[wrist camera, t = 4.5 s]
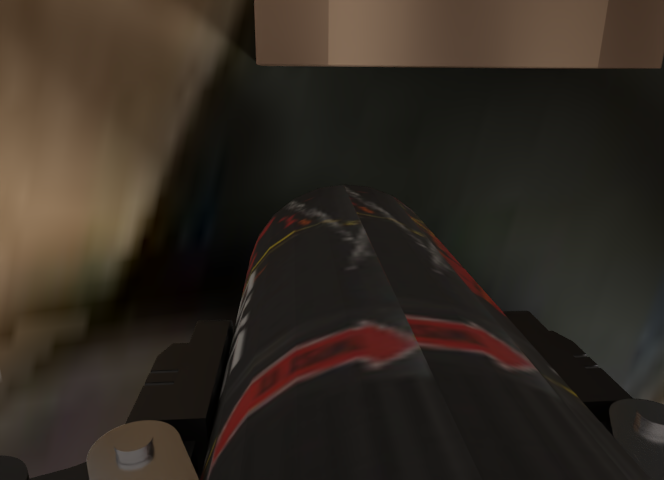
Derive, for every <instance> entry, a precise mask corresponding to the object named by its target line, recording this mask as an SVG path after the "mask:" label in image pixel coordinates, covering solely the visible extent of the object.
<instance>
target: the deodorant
mask: <svg viewBox="0 0 664 480" xmlns="http://www.w3.org/2000/svg"><path fill="white" fill-rule="evenodd" d="M201 480H651V478H650V477H649V476H648V475H647V474H646V473H645V472H644V471H643V469H642V468H641V467H640V466H639V465H638V464H637V463H636V462H635V460H634V459H633V458H632V457H631V456H630V455H629V454H628V453H627V451H626V450H625V449H624V448H623V447H622V446H621V445H620V444H619V442H618V441H617V440H616V439H615V438H614V437H613V436H612V435H611V433H610V432H609V431H608V430H607V429H606V428H605V427H604V426H603V424H602V423H601V422H600V421H599V420H598V419H597V418H596V417H595V415H594V414H593V413H592V412H591V411H590V410H589V409H588V408H587V406H586V405H585V404H584V403H583V402H582V401H581V400H580V399H579V397H578V396H577V395H576V394H575V393H574V392H573V391H572V389H571V388H570V387H569V386H568V385H567V384H566V383H565V382H564V380H563V379H562V378H561V377H560V376H559V375H558V374H557V373H556V371H555V370H554V369H553V368H552V367H551V366H550V365H549V364H548V362H547V361H546V360H545V359H544V358H543V357H542V356H541V355H540V353H539V352H538V351H537V350H536V349H535V348H534V347H533V346H532V344H531V343H530V342H529V341H528V340H527V339H526V338H525V337H524V335H523V334H522V333H521V332H520V331H519V330H518V329H517V328H516V326H515V325H514V324H513V323H512V322H511V321H510V320H509V319H508V317H507V316H506V315H505V314H504V313H503V312H502V311H501V310H500V308H499V307H498V306H497V305H496V304H495V303H494V302H493V301H492V299H491V298H490V297H489V296H488V295H487V294H486V293H485V292H484V290H483V289H482V288H481V287H480V286H479V285H478V284H477V283H476V281H475V280H474V279H473V278H472V277H471V276H470V275H469V274H468V272H467V271H466V270H465V269H464V268H463V267H462V266H461V265H460V263H459V262H458V261H457V260H456V259H455V258H454V257H453V256H452V254H451V253H450V252H449V251H448V250H447V249H446V248H445V246H444V245H443V244H442V243H441V242H440V241H439V240H438V239H437V237H436V236H435V235H434V234H433V233H432V232H431V231H430V230H429V228H428V227H427V226H426V225H425V224H424V223H423V222H422V221H421V219H420V218H419V217H418V216H417V215H416V214H415V213H414V212H413V210H411V209H410V208H409V207H407V206H406V205H404V204H403V203H402V202H400V201H399V200H398V199H396V198H395V197H393V196H392V195H389V194H386V193H384V192H381V191H378V190H376V189H373V188H371V187H365V186H355V185H345V184H343V185H336V186H330V187H324V188H318V189H315V190H313V191H311V192H309V193H306V194H304V195H302V196H300V197H297V198H295V199H293V200H292V201H291V202H290V203H288V204H287V205H286V206H285V207H283V208H282V209H281V210H279V211H278V212H277V213H276V214H274V215H273V217H272V218H271V220H270V221H269V222H268V224H267V225H266V226H265V228H264V229H263V230H262V232H261V233H260V235H259V237H258V240H257V242H256V245H255V248H254V250H253V253H252V256H251V259H250V263H249V268H248V272H247V277H246V281H245V285H244V290H243V294H242V299H241V303H240V308H239V312H238V316H237V321H236V325H235V330H234V334H233V338H232V343H231V347H230V352H229V356H228V361H227V365H226V369H225V374H224V378H223V383H222V387H221V391H220V396H219V400H218V405H217V409H216V414H215V418H214V422H213V427H212V431H211V436H210V440H209V445H208V449H207V453H206V458H205V462H204V467H203V471H202V475H201Z"/></svg>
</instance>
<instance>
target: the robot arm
mask: <svg viewBox="0 0 664 480" xmlns="http://www.w3.org/2000/svg"><path fill="white" fill-rule="evenodd" d="M503 313H504V314H505V315H506V316H507V317H508V319H509V320H510V321H511V322H512V323H513V324H514V325H515V326H516V328H517V329H518V330H519V331H520V332H521V333H522V334H523V335H524V337H525V338H526V339H527V340H528V341H529V342H530V343H531V344H532V346H533V347H534V348H535V349H536V350H537V351H538V352H539V353H540V355H541V356H542V357H543V358H544V359H545V360H546V361H547V362H548V364H549V365H550V366H551V367H552V368H553V369H554V370H555V371H556V373H557V374H558V375H559V376H560V377H561V378H562V379H563V380H564V382H565V383H566V384H567V385H568V386H569V387H570V388H571V389H572V391H573V392H574V393H575V394H576V395H577V396H578V397H579V399H580V400H581V401H582V402H583V403H584V404H585V405H586V406H587V408H588V409H589V410H590V411H591V412H592V413H593V414H594V415H595V417H596V418H597V419H598V420H599V421H600V422H601V423H602V424H603V426H604V427H605V428H606V429H607V430H608V431H609V432H610V433H611V435H612V436H613V437H614V438H615V439H616V440H617V441H618V442H619V444H620V445H621V446H622V447H623V448H624V449H625V450H626V451H627V453H628V454H629V455H630V456H631V457H632V458H633V459H634V460H635V462H636V463H637V464H638V465H639V466H640V467H641V468H642V469H643V471H644V472H645V473H646V474H647V475H648V476H649V477H650V478H651V480H664V404H660V403H657V402H654V401H649V400H644V399H633V398H632V397H631V396H630V395H629V394H628V393H627V392H626V391H625V390H624V389H622V388H621V387H620V386H619V385H618V384H617V383H616V382H615V381H614V380H613V379H612V378H611V377H610V376H609V375H608V374H607V373H606V372H605V371H604V370H602V369H601V368H598V365H597V364H596V363H595V362H594V361H593V360H592V359H591V358H590V357H587V354H586V353H585V352H583V351H582V350H581V349H580V348H579V347H578V346H577V345H576V344H575V343H574V342H573V341H571V340H569V339H567V338H565V337H563V336H562V335H560V334H558V333H556V332H554V331H548V330H547V329H546V328H545V327H544V326H543V325H542V324H541V323H540V322H539V321H538V320H537V319H536V318H535V317H534V316H533V315H532V314H531V313H530V312H529V311H503ZM233 334H234V332H233V323H232V320H203V321H198V322H197V324H196V327H195V329H194V332H193V335H192V337H191V340H190V342H189V343H173V344H172V345H171V346H169V347H168V348H167V349H166V350H164V351H163V352H162V353H161V354H160V355H158V356H157V358H156V361H155V363H154V365H153V367H152V369H151V373H149V375H148V377H147V379H146V382H145V386H143V388H142V390H141V392H140V394H139V396H138V398H137V400H136V403H135V405H134V407H133V409H132V411H131V413H130V415H129V417H128V419H127V421H126V424H125V425H122V426H119V427H117V428H115V429H113V430H111V431H109V432H108V433H106V434H105V435H103V436H102V437H101V438H99V439H98V440H97V441H96V442H95V443H94V445H93V446H92V447H91V449H90V451H89V453H88V456H87V462H84V463H82V464H80V465H77V466H74V467H71V468H68V469H64V470H60V471H57V472H53V473H49V474H45V475H42V476H38V477H34V478H30V479H29V475H28V470H27V467H26V465H25V464H24V463H23V462H22V461H21V460H19V459H18V458H15V457H11V456H0V480H201V475H202V471H203V467H204V462H205V458H206V453H207V449H208V445H209V440H210V436H211V431H212V427H213V422H214V418H215V414H216V409H217V405H218V400H219V396H220V391H221V387H222V383H223V378H224V374H225V369H226V365H227V361H228V356H229V352H230V347H231V343H232V338H233Z"/></svg>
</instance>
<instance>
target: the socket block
mask: <svg viewBox="0 0 664 480" xmlns="http://www.w3.org/2000/svg"><path fill="white" fill-rule="evenodd" d="M254 13H255V41H256V64H257V65H261V66H335V67H438V68H540V69H626V68H661V65H662V60H663V55H664V0H254Z"/></svg>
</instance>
